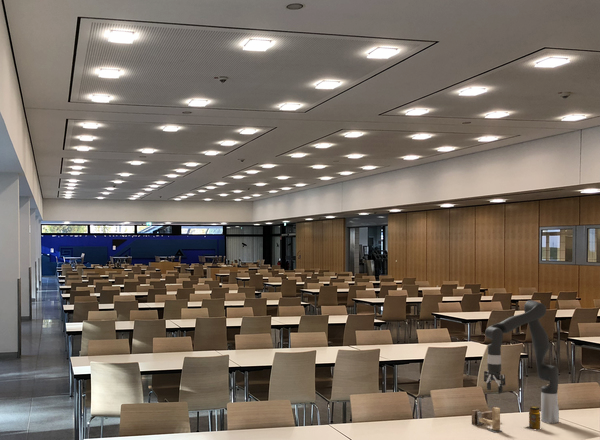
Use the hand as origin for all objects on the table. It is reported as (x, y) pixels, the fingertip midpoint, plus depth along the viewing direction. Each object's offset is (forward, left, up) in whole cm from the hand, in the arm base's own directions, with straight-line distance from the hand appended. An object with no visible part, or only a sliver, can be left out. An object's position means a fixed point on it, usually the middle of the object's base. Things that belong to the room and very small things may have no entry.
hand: (494, 391), depth 358 cm
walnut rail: (-7, -15, -22) cm, 28 cm away
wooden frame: (0, -6, -21) cm, 22 cm away
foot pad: (0, 0, -22) cm, 22 cm away
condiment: (-24, +6, -22) cm, 33 cm away
